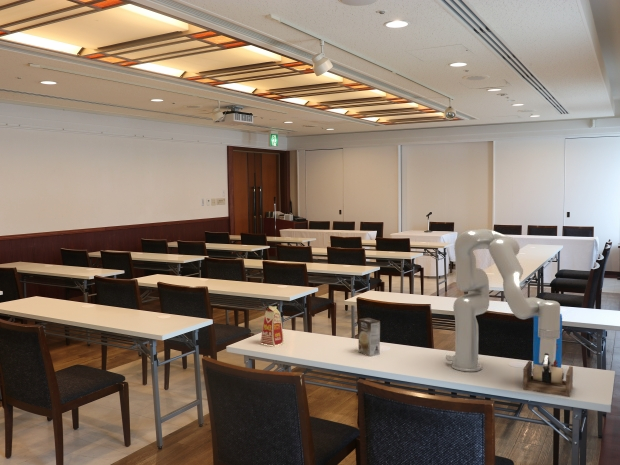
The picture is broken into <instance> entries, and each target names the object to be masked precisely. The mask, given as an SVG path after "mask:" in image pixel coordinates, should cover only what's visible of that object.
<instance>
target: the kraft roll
mask: <svg viewBox="0 0 620 465" xmlns="http://www.w3.org/2000/svg"><path fill="white" fill-rule="evenodd" d="M542 371H543V365H537V364H534V367H533V366H532V376H533V380H538V381H542ZM551 372H552V373H551V383H557V384H562V382H563V380H565V379H564V378H565V373H564V368H563V367H561V368H559V367H552V366H551Z"/></svg>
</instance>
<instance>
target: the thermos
mask: <svg viewBox="0 0 620 465" xmlns="http://www.w3.org/2000/svg"><path fill="white" fill-rule="evenodd" d="M538 318H539V316H536V317H533V337H532V338H533V339H532V340H533V347H532V350H533V351H532V353H533V354H532V368H533V367H534V364H537V365H543V362H542V363H541V364H540V363H539V352H540V340H541V338H540V337H538ZM562 342H563V315H562V313H560V338H559V339H556V357H555V361H554V366H553V367H559V368H562V351H563V350H562V348H563V346H562V345H563V343H562Z"/></svg>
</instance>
